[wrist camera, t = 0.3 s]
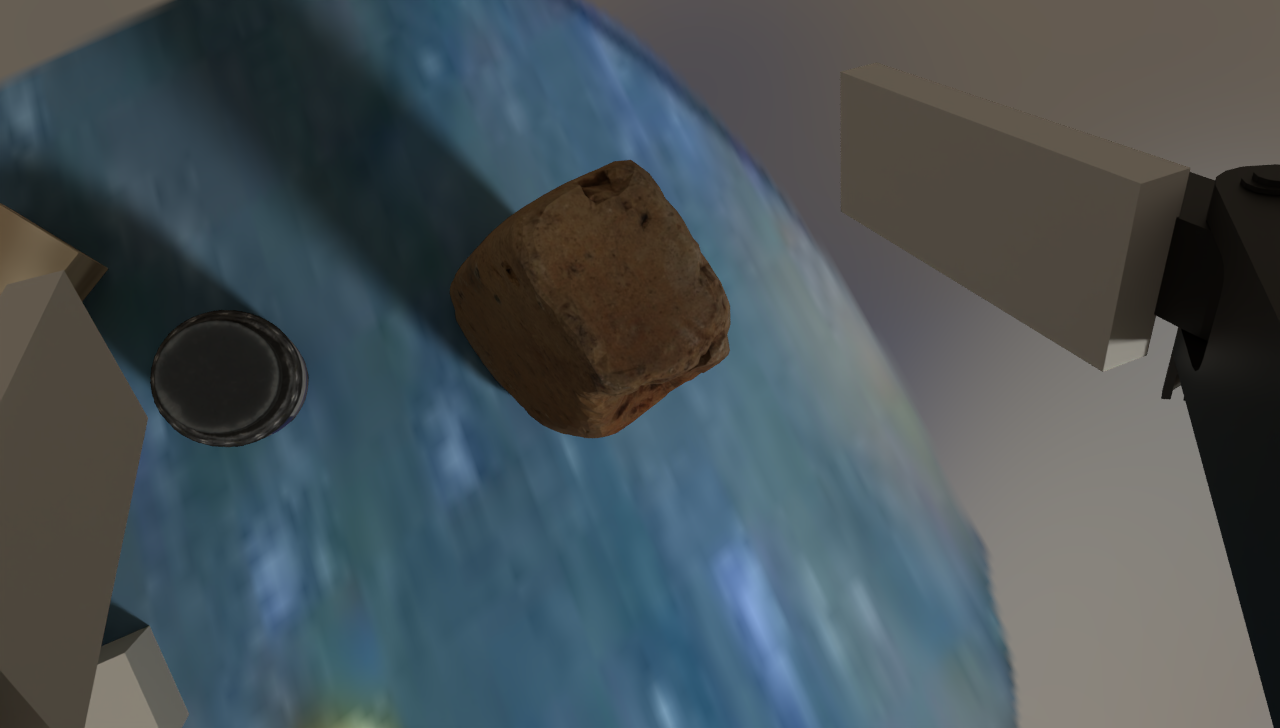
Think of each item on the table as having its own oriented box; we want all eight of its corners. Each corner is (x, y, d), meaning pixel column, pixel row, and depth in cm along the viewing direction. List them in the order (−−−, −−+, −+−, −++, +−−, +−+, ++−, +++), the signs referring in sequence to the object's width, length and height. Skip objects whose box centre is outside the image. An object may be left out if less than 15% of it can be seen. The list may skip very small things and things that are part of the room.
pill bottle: (175, 434, 44) (120, 445, 33) (190, 317, 44) (140, 291, 34) (303, 444, 46) (288, 457, 35) (316, 331, 46) (306, 311, 36)
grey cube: (189, 713, 44) (169, 751, 39) (83, 763, 42) (49, 809, 37) (149, 625, 43) (124, 652, 39) (41, 672, 42) (1, 706, 37)
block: (429, 287, 48) (479, 215, 29) (539, 223, 50) (651, 117, 32) (531, 447, 50) (641, 476, 31) (634, 378, 52) (795, 365, 33)
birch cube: (108, 268, 43) (78, 252, 39) (44, 350, 42) (5, 344, 38) (12, 210, 42) (-31, 185, 37) (-57, 292, 41) (-111, 278, 36)
